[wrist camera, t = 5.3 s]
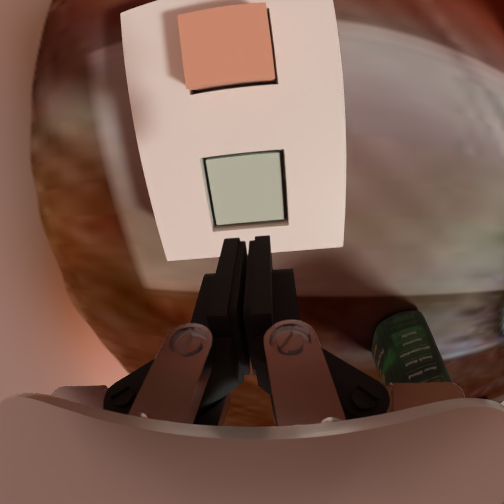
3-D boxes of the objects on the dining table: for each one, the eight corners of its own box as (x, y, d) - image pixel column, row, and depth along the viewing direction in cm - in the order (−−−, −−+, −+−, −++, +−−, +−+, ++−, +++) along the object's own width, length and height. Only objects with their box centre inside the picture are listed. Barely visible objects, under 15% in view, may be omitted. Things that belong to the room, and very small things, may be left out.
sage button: (276, 144, 21) (279, 152, 18) (280, 202, 23) (284, 219, 20) (213, 150, 21) (205, 160, 18) (221, 207, 24) (216, 225, 21)
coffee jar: (371, 315, 32) (416, 451, 16) (424, 301, 31) (483, 420, 15) (366, 358, 37) (395, 470, 21) (412, 346, 36) (451, 448, 20)
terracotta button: (264, 17, 13) (265, 2, 10) (271, 81, 16) (275, 77, 13) (190, 27, 14) (177, 15, 11) (198, 90, 16) (186, 89, 13)
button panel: (315, 3, 15) (329, -17, 10) (328, 219, 25) (342, 246, 21) (145, 25, 16) (120, 13, 11) (181, 231, 26) (167, 260, 22)
